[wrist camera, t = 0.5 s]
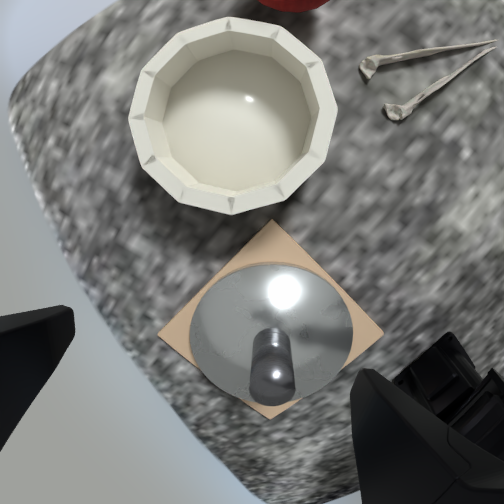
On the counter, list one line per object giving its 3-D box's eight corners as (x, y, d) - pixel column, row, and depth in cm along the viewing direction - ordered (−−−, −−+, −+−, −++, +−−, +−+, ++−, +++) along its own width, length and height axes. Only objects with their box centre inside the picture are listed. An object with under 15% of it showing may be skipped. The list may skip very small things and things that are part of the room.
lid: (380, 334, 22) (407, 380, 16) (270, 416, 24) (269, 468, 19) (272, 225, 20) (274, 249, 14) (161, 334, 23) (135, 381, 17)
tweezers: (387, 126, 19) (400, 122, 17) (352, 66, 18) (361, 56, 16) (514, 64, 17) (527, 60, 15) (489, 19, 16) (501, 13, 14)
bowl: (354, 121, 18) (374, 112, 14) (238, 236, 21) (232, 252, 17) (235, 17, 17) (228, -11, 13) (125, 129, 19) (97, 124, 15)
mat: (382, 331, 22) (384, 333, 22) (270, 416, 25) (270, 419, 24) (271, 218, 20) (271, 219, 20) (158, 332, 23) (157, 334, 23)
